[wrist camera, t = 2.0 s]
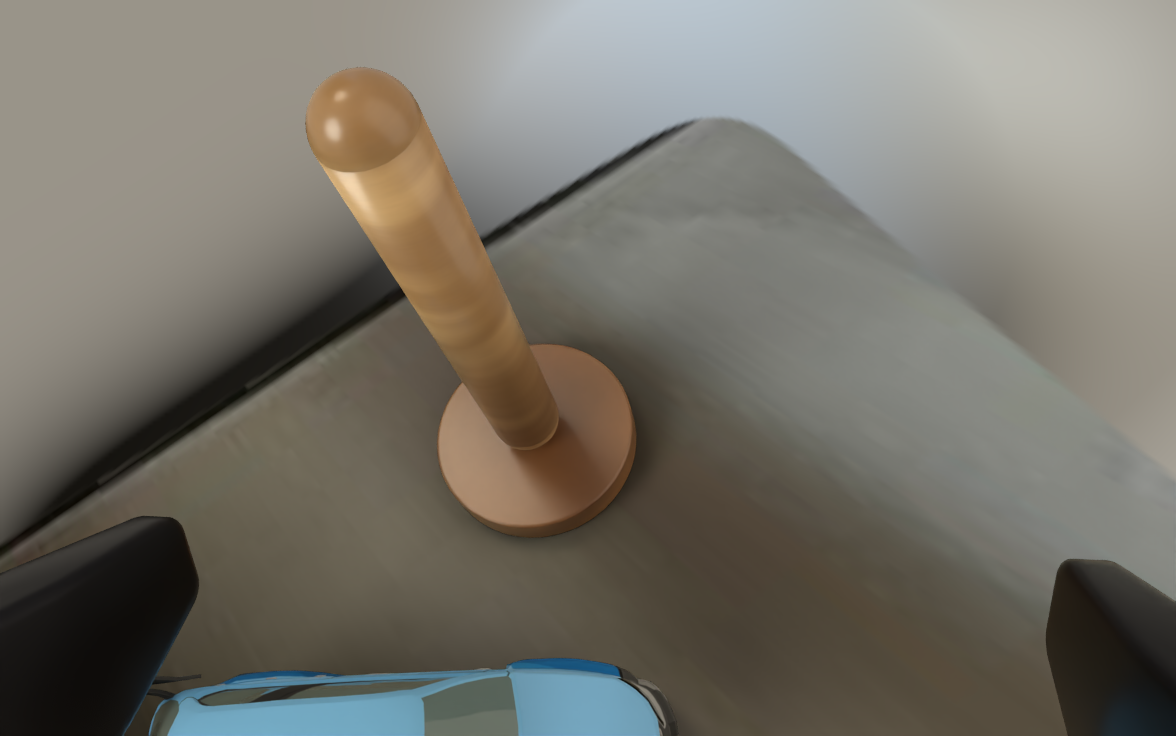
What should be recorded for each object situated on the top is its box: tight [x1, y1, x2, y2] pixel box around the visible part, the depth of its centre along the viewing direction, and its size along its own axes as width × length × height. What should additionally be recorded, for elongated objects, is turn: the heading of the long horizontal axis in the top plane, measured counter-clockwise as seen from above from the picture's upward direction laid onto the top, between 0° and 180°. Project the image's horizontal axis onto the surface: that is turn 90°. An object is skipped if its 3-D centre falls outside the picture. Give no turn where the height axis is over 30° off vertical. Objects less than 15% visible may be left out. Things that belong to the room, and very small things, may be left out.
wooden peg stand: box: [305, 67, 636, 538], centre depth 19 cm, size 6×6×14 cm
